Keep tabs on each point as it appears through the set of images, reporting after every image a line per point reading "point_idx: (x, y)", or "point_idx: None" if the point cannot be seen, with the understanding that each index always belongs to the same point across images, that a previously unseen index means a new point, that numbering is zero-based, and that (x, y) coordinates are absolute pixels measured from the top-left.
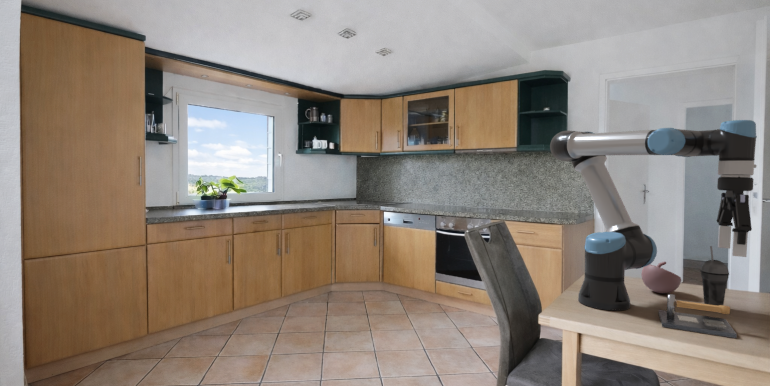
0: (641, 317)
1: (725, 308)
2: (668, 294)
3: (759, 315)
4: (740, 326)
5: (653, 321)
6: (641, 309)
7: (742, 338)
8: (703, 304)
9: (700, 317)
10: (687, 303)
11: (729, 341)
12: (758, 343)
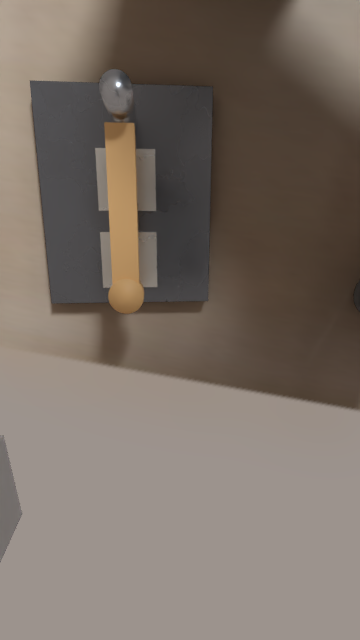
0: (117, 15)
1: (108, 296)
2: (118, 74)
3: (341, 399)
4: (192, 331)
5: (89, 61)
6: (238, 27)
7: (67, 315)
8: (123, 227)
9: (183, 228)
10: (106, 166)
11: (12, 277)
12: (46, 344)
